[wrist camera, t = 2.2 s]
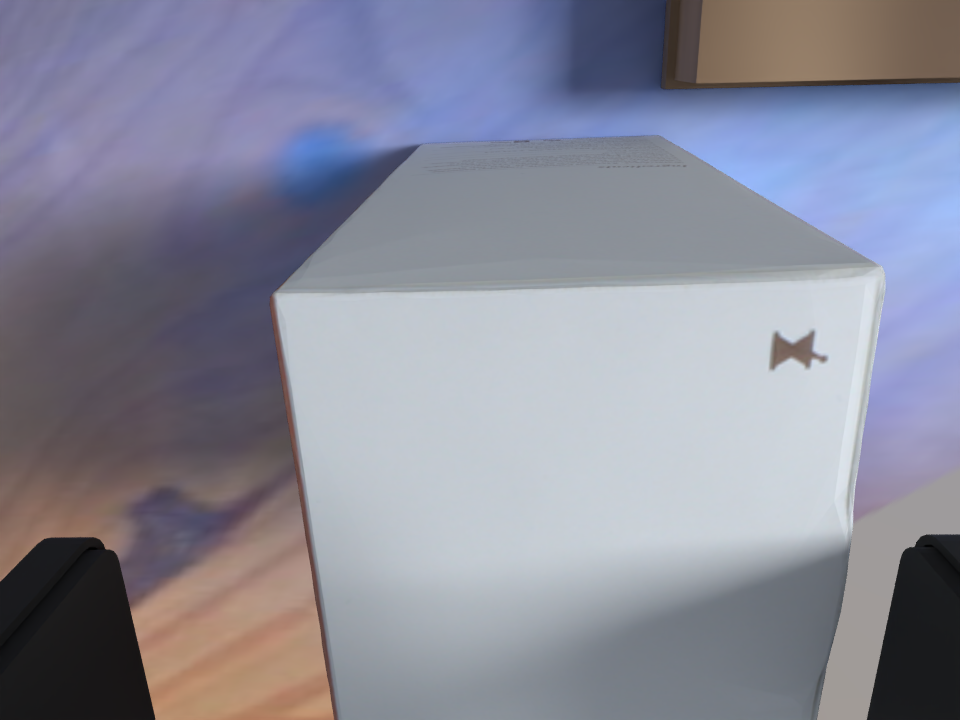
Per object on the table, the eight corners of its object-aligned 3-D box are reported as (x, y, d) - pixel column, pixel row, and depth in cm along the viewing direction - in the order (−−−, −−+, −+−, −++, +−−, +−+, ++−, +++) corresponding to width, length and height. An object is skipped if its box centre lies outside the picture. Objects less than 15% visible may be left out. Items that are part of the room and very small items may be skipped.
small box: (416, 141, 20) (254, 276, 7) (664, 130, 19) (914, 255, 7) (436, 421, 23) (343, 841, 10) (651, 417, 22) (811, 848, 10)
